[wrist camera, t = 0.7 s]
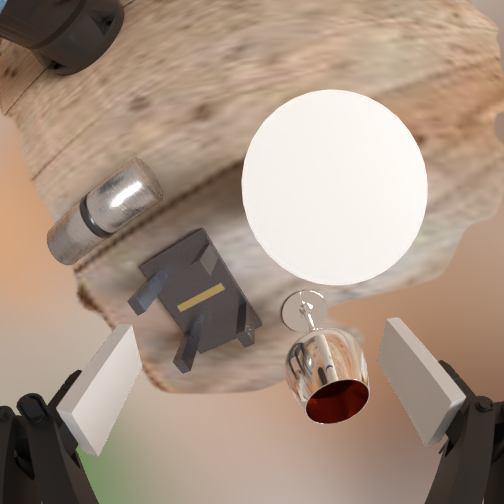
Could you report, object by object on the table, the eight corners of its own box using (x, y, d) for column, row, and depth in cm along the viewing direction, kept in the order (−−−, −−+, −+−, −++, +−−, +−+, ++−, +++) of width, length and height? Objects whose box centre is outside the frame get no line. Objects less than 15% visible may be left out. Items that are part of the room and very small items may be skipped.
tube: (84, 258, 36) (61, 271, 30) (64, 222, 35) (39, 231, 29) (168, 198, 34) (151, 203, 28) (145, 158, 33) (124, 155, 27)
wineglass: (268, 293, 37) (279, 385, 20) (327, 275, 37) (380, 352, 19) (284, 342, 39) (300, 440, 22) (338, 326, 39) (383, 414, 21)
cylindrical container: (238, 169, 33) (201, 150, 9) (289, 140, 32) (372, 64, 8) (268, 220, 35) (304, 318, 11) (318, 191, 34) (448, 227, 10)
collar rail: (142, 264, 36) (117, 286, 28) (203, 227, 35) (189, 242, 27) (201, 349, 40) (191, 384, 32) (261, 322, 38) (263, 355, 31)
